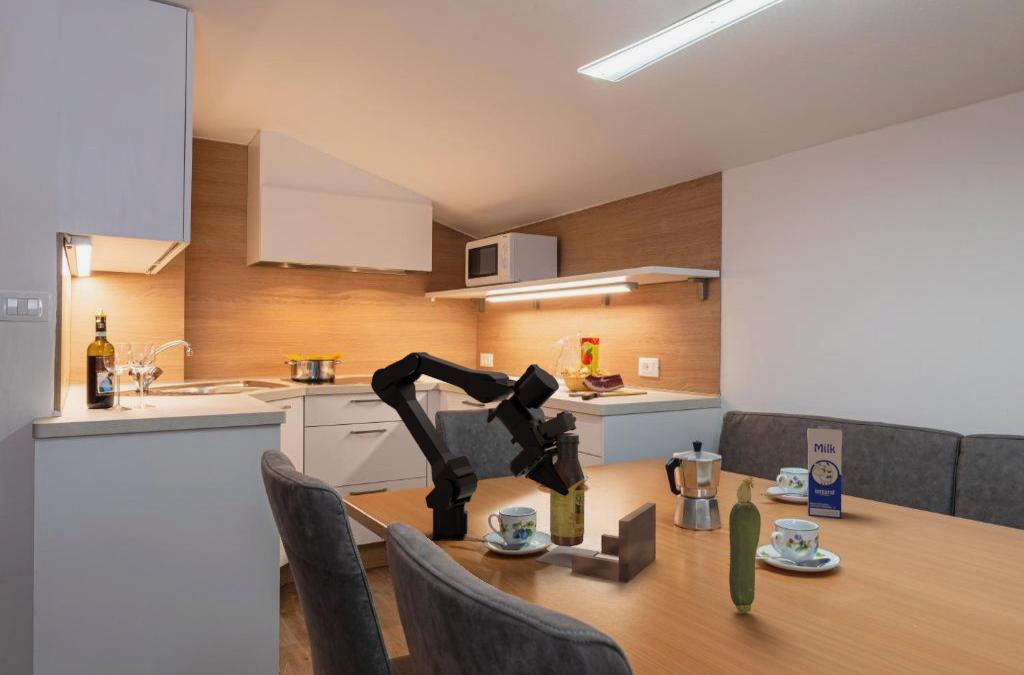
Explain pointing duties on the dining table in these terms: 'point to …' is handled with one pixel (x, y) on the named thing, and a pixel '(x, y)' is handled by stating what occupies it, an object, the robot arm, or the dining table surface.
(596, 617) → the dining table surface
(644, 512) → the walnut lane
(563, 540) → the sauce bottle
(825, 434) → the milk carton
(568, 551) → the mat
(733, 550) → the vegetable
